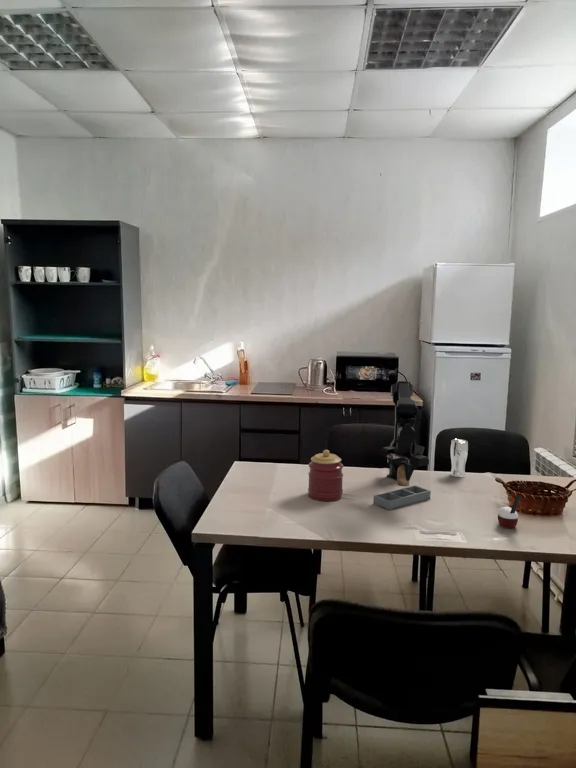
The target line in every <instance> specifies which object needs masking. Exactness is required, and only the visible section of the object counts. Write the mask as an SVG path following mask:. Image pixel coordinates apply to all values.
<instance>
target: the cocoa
mask: <svg viewBox="0 0 576 768" xmlns="http://www.w3.org/2000/svg"><path fill="white" fill-rule="evenodd" d="M521 497H522V495H521V494H518V495H516V496H515V499H514V501H513V504H512V505H511V506H512V507H510V506H501V507H499V508H498V509H497V520H498V524H499V525H500V526H501V527H502V526H503V527H502V528H505V527H506V528H505V529H513V528H515V527H516V526H517V524H518V522H519V514H518V512H517V508H518V505H519V502H520V500H521Z"/></svg>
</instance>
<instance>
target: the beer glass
mask: <svg viewBox="0 0 576 768" xmlns="http://www.w3.org/2000/svg"><path fill="white" fill-rule="evenodd" d="M468 451H469V442H468V440H466V439H461V438H460V439H459V438H454V439H451V444H450V460H451V461H450V463H451V470H450V473H449V474H450V476H451V477H454V478H465V477H466V471H465V470H466V464H467V463H466V462H467V459H468V455H469V454H468Z"/></svg>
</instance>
